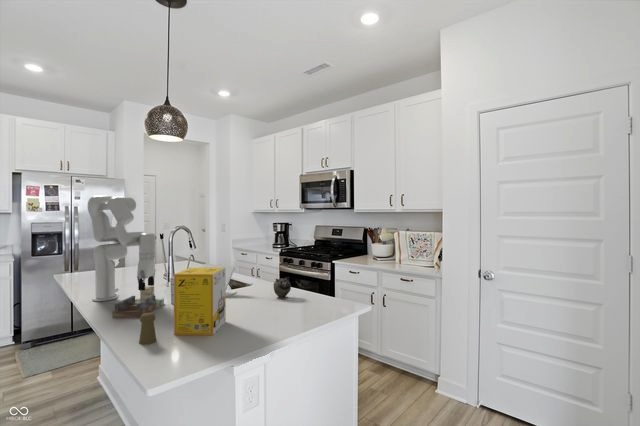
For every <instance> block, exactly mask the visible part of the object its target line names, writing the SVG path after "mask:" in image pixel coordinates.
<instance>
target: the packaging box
mask: <svg viewBox="0 0 640 426" xmlns="http://www.w3.org/2000/svg"><path fill="white" fill-rule="evenodd" d="M173 277H174V304H173V335H174V336H214V335H215V334H216V333H217V332H218V331H219V329H220V328H221V327H222V326H224V324H225V323H226V320H227V319H226V318H227V314H226V308H227V307H226V302H227V301H226V298H227V297H226V291H227V289H226V288H225V268H201V267H188V268H186V269H184V270H181V271H179V272H176V273H174V274H173ZM216 331H217V332H216ZM214 333H215V334H214Z"/></svg>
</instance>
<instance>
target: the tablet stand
mask: <svg viewBox="0 0 640 426" xmlns="http://www.w3.org/2000/svg"><path fill="white" fill-rule="evenodd" d="M200 268H225V288H226V298H227V297H229V296H230V297H231V296H233V295H235V294H237V291H234V290H228V287H229V284H230V281H231V279H232V276H233V273H234V271H235V269H236V267H235V266H233V265H222V264H208V263H203V264H202V265H201V267H200Z"/></svg>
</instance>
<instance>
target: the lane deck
mask: <svg viewBox="0 0 640 426" xmlns="http://www.w3.org/2000/svg"><path fill="white" fill-rule="evenodd" d="M164 304H165V298H164V297H162V298H161V297H160V298H159V297H158V298H156V295H154V296H151V297H149V298H147V299H145V300H144V301H142V302H140V298H137V299H136V295H131V296H130V297H127V298H125V299H123V300H121V301H119V302H116V303H115V304H114V310H113V311H112V312H111V313H112V319H130V318H131V319H132V318H134V319H135V318H137V319H138V318H139V319H140V317H141V315H142V314H144V313H153V312H154V311H155V310H157V309H158V308H159V307H161V306H163V305H164Z"/></svg>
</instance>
